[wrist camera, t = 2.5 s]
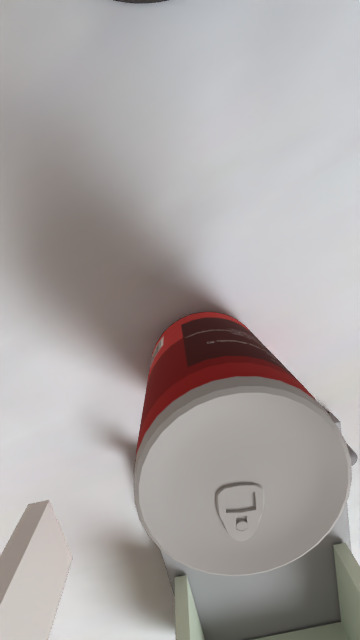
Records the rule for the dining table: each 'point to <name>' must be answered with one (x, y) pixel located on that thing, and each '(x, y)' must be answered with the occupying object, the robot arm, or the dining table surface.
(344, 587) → the housing
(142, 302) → the dining table surface
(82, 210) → the dining table surface
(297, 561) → the base
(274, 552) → the canned food
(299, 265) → the dining table surface
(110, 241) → the dining table surface
